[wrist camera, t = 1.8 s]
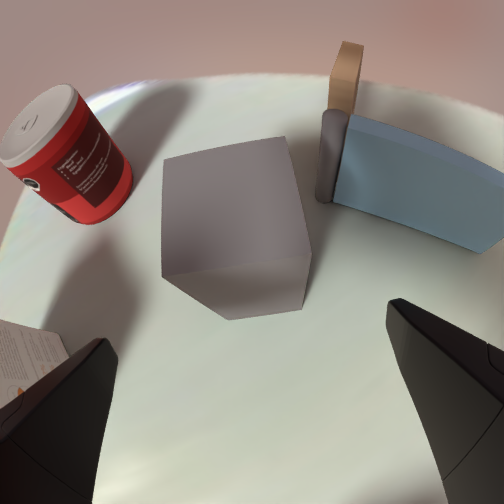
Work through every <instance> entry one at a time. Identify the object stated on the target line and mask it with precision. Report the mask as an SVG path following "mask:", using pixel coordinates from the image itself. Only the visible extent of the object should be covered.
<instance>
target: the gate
mask: <svg viewBox="0 0 504 504" xmlns="http://www.w3.org/2000/svg"><path fill="white" fill-rule="evenodd" d="M347 121H348V117H347V115H346V114H345V113H344V112H343V111H341V110H339V109H328V110H326V111H324V113H323V115H322V128H321V141H320V152H319V163H318V173H317V183H316V192H315V196H316V199H317V200H318V201H320V202H322V203H328V202H330V201H331V200H332V199H333V195H334V199H333V202H335V203H339V204H342V205H345V206H348V207H352V208H355V209H358V210H361V211H364V212H367V213H370V214H374V215H377V216H380V217H383V218H386V219H389V220H392V221H394V222H397V223H400V224H403V225H406V226H409V227H412V228H414V229H417V230H420V231H423V232H425V233H428V234H431V235H434V236H436V237H439V238H442V239H444V240H447V241H449V242H452V243H454V244H457V245H460V246H462V247H465V248H467V249H469V250H472V251H474V252H477V253H479V254H482V253H483V252H485V251H486V250H487V249H489V248H490V247H492V246H493V245H494V244H496V243H497V242H498V241H500V240H501V239H502V238H504V173H502V172H500V171H498V170H496V169H494V168H492V167H490V166H488V165H486V164H484V163H482V162H480V161H478V160H476V159H474V158H472V157H470V156H467V155H465V154H463V153H461V152H459V151H456V150H454V149H452V148H449V147H447V146H445V145H442V144H440V143H437V142H435V141H432V140H430V139H427V138H424V137H422V136H419V135H416V134H414V133H411V132H408V131H405V130H402V129H399V128H396V127H393V126H390V125H387V124H384V123H381V122H378V121H374V120H371V119H368V118H364V117H361V116H357V115H353V114H351V117H350V121H349V125H348V129H347V134H346V140H345V145H344V150H343V144H344V139H345V133H346V127H347ZM342 150H343V156H342V161H341V166H340V160H341V155H342ZM339 166H340V171H339ZM338 171H339V176H338ZM337 176H338V180H337ZM336 181H337V185H336ZM335 185H336V190H335ZM334 190H335V194H334Z"/></svg>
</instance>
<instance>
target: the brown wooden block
mask: <svg viewBox="0 0 504 504" xmlns="http://www.w3.org/2000/svg"><path fill="white" fill-rule="evenodd" d="M363 48H364V46H363V45H359V44H354V43H350V42H345V41H343V42H342V45H341V48H340V50H339V53H338V56H337V59H336V61H335V65H334V67H333V70H332V72H331V75H330V81H329V95H328V108H327V110H328V109H339V110H341V111H343V112H344V113H345V114H346V115H347V117H348V121H347V127H346V133H345V139H344V144H343V150H344V145H345V140H346V134H347V129H348V125H349V121H350V117H351V114H353V113H354V108H355V102H356V96H357V90H358V84H359V77H360V70H361V63H362V56H363ZM343 150H342V155H341V160H340V166H341V161H342V156H343ZM340 166H339V171H340ZM339 171H338V176H339ZM338 176H337V180H338ZM336 182H337V181H336Z"/></svg>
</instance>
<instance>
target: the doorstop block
mask: <svg viewBox="0 0 504 504" xmlns="http://www.w3.org/2000/svg"><path fill="white" fill-rule="evenodd" d="M311 257H312V250H311V245H310V241H309V236H308V231H307V226H306V222H305V217H304V213H303V208H302V204H301V199H300V195H299V191H298V186H297V182H296V178H295V174H294V170H293V166H292V162H291V158H290V154H289V150H288V146H287V142H286V138H285V136H281V137H274V138H268V139H261V140H255V141H249V142H244V143H238V144H233V145H228V146H222V147H217V148H213V149H208V150H203V151H199V152H194V153H190V154H185V155H181V156H177V157H173V158H169V159H165V160H164V165H163V185H162V218H161V266H162V277H163V278H164V279H166V280H167V281H168V282H170V283H171V284H173V285H174V286H176V287H177V288H179V289H180V290H182V291H183V292H185V293H186V294H188V295H189V296H191V297H192V298H194V299H195V300H197V301H198V302H200V303H202V304H203V305H205V306H206V307H208V308H209V309H211V310H212V311H214V312H216V313H217V314H219V315H220V316H222V317H223V318H225V319H227V320H234V319H242V318H249V317H256V316H263V315H270V314H277V313H284V312H290V311H296V310H301V309H302V304H303V299H304V294H305V289H306V284H307V279H308V274H309V268H310V263H311Z"/></svg>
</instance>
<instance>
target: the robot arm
mask: <svg viewBox="0 0 504 504" xmlns="http://www.w3.org/2000/svg"><path fill="white" fill-rule="evenodd" d="M386 329H387V332H388V335H389V338H390V341H391V344H392V347H393V350H394V353H395V357H396V360H397V363H398V366H399V369H400V372H401V374H402V376H403V379H404V381H405V383H406V386H407V388H408V390H409V393H410V395H411V398H412V400H413V402H414V405H415V407H416V410H417V412H418V415H419V417H420V420H421V423H422V425H423V428H424V430H425V433H426V436H427V438H428V441H429V444H430V447H431V449H432V452H433V455H434V458H435V461H436V464H437V467H438V470H439V473H440V476H441V479H442V481H443V482H442V483H443V486H444V489H445V493H446V496H447V499H448V503H449V504H504V351H502V350H500V349H498V348H496V347H495V346H493V345H491V344H489V343H488V344H487V343H486V342H485V341H483V340H481V339H479V338H478V337H476V336H474V335H472V334H470V333H468V332H466V331H464V330H462V329H461V328H459V327H457V326H455V325H453V324H451V323H449V322H447V321H445V320H443V319H441V318H439V317H438V316H436V315H434V314H432V313H430V312H428V311H426V310H424V309H422V308H420V307H418V306H416V305H414V304H412V303H410V302H408V301H406V300H404V299H402V298H398V299H393V300H390V301H389V302H388V305H387V315H386ZM117 365H118V357H117V355H116V353H115V351H114V349H113V347H112V346H111V344H110V342H109V340H108V339H107V338H95V339H94V340H92V341H91V342H90V343H88V344H87V345H86V346H84V347H83V348H82V349H80V350H79V351H77V352H76V353H75V354H73V355H72V356H71V357H69V358H68V359H67V360H65V361H64V362H63V363H61V364H60V365H59V366H57V367H56V368H55V369H53V370H52V371H50V372H49V373H48V374H46V375H45V376H44V377H42V378H41V379H40V380H38V381H37V382H36V383H34V384H33V385H32V386H31V387H29V388H28V389H27V390H26V391H24V392H23V393H21V394H20V395H19V396H17V397H16V398H15V399H13V400H12V401H11V402H9V403H8V404H6V405H5V406H3V407H2V408H0V504H92V499H93V492H94V486H95V479H96V473H97V468H98V462H99V457H100V452H101V447H102V442H103V437H104V432H105V428H106V423H107V419H108V415H109V411H110V406H111V402H112V397H113V391H114V384H115V377H116V371H117Z"/></svg>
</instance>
